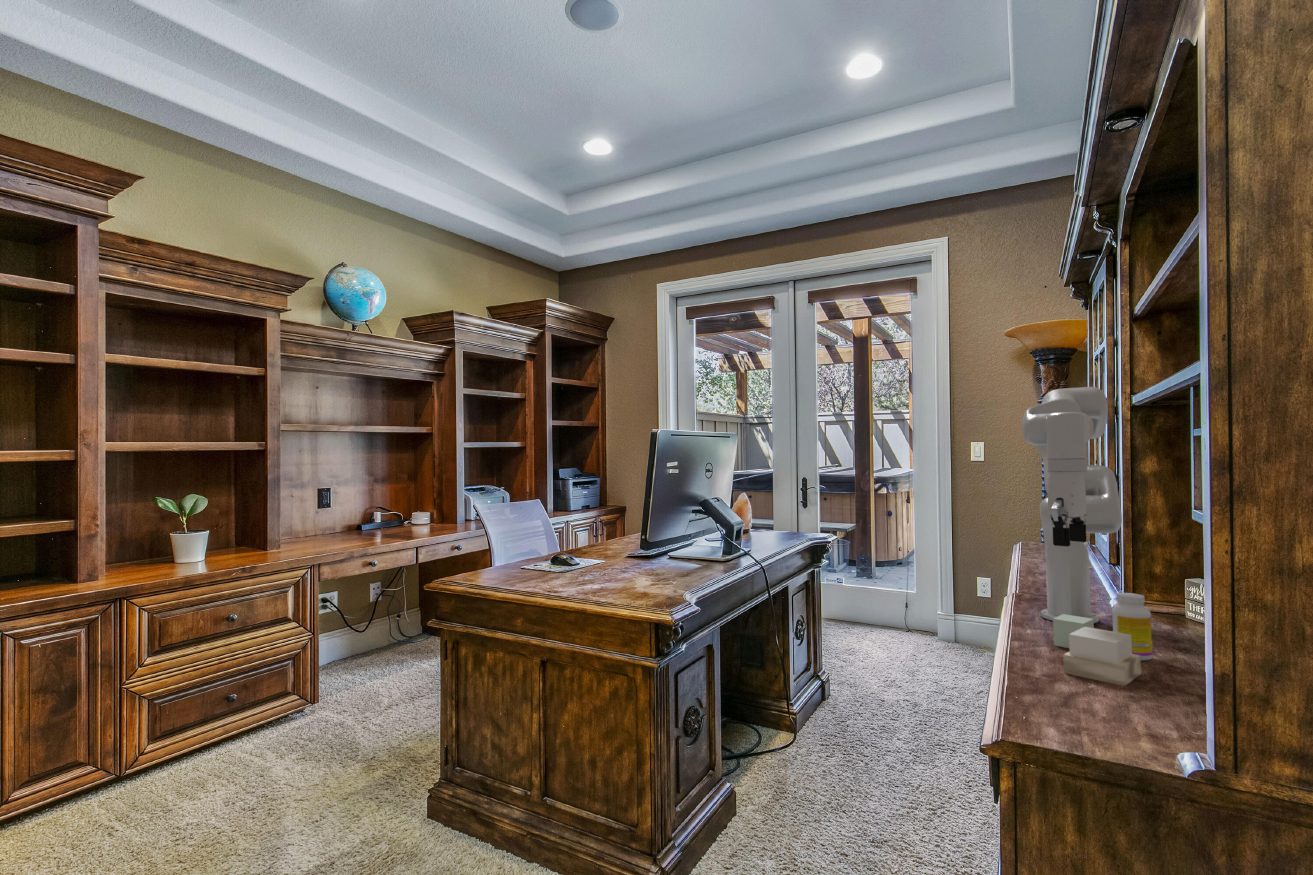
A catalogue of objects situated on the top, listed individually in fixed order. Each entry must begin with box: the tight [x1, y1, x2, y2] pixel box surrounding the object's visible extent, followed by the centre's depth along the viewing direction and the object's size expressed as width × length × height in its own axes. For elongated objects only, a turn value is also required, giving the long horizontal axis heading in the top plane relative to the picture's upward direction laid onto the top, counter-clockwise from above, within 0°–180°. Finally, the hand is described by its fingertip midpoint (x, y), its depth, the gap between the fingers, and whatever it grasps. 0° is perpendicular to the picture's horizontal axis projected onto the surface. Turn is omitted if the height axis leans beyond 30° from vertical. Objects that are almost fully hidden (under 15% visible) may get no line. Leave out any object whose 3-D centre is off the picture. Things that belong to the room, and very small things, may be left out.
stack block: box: [1052, 614, 1095, 649], centre depth 145 cm, size 6×6×6 cm
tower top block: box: [1069, 627, 1132, 664], centre depth 127 cm, size 8×8×4 cm
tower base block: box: [1062, 650, 1142, 687], centre depth 127 cm, size 10×10×4 cm
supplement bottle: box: [1111, 592, 1154, 662], centre depth 136 cm, size 7×7×13 cm
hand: (1070, 543), depth 145 cm, fingers open, 9 cm apart
